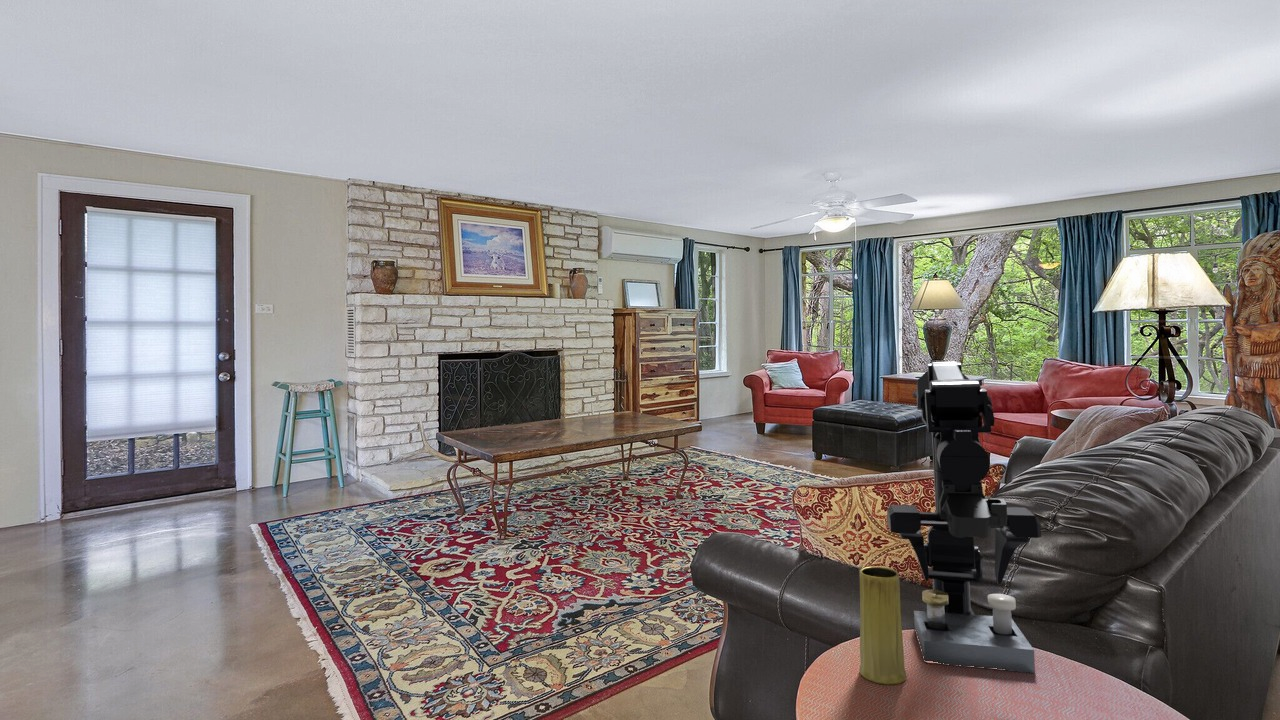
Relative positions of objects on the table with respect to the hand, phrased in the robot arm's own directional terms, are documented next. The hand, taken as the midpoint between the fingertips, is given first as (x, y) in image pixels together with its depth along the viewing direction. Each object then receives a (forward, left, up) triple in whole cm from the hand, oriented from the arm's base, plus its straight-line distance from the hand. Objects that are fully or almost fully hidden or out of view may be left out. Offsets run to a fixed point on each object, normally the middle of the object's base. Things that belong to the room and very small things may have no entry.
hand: (962, 581), depth 90 cm
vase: (+4, -11, -13) cm, 17 cm away
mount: (-7, +2, -12) cm, 14 cm away
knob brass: (-7, -3, -9) cm, 12 cm away
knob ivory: (-7, +6, -9) cm, 13 cm away
